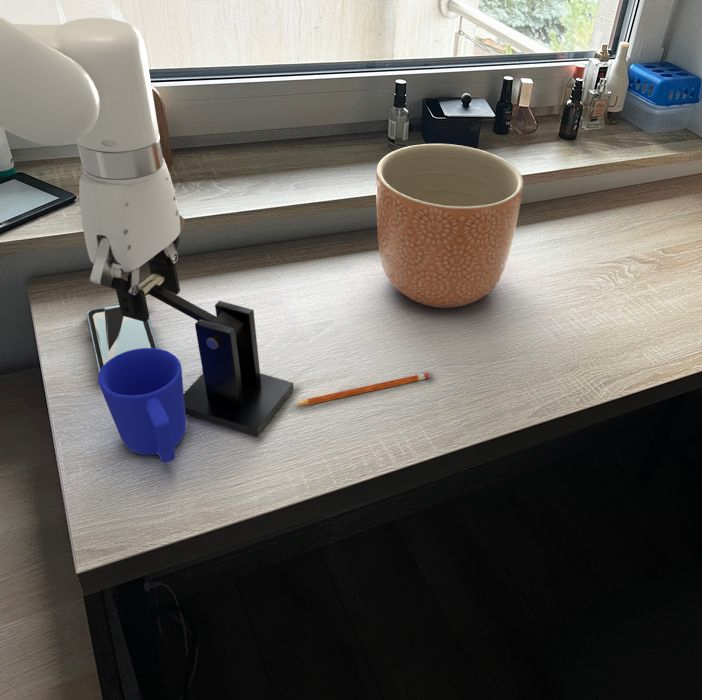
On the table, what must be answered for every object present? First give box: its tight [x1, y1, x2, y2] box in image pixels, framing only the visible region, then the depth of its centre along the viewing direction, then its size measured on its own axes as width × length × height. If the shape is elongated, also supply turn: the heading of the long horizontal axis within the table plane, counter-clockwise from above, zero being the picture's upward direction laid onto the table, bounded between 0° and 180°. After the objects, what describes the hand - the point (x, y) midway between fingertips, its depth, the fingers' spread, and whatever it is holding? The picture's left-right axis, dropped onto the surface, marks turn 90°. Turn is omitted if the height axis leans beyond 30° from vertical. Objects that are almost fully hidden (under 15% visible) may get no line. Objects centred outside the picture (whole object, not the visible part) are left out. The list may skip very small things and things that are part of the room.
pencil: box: [295, 372, 430, 406], centre depth 92 cm, size 1×18×1 cm, turn 115°
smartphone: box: [86, 303, 159, 373], centre depth 95 cm, size 7×1×15 cm
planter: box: [375, 143, 525, 308], centre depth 107 cm, size 21×21×19 cm
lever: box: [139, 270, 244, 341], centre depth 82 cm, size 12×5×2 cm, turn 74°
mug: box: [97, 348, 187, 464], centre depth 79 cm, size 8×12×10 cm
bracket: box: [184, 300, 295, 437], centre depth 85 cm, size 11×9×13 cm
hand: (151, 302), depth 83 cm, fingers closed on lever, 5 cm apart
